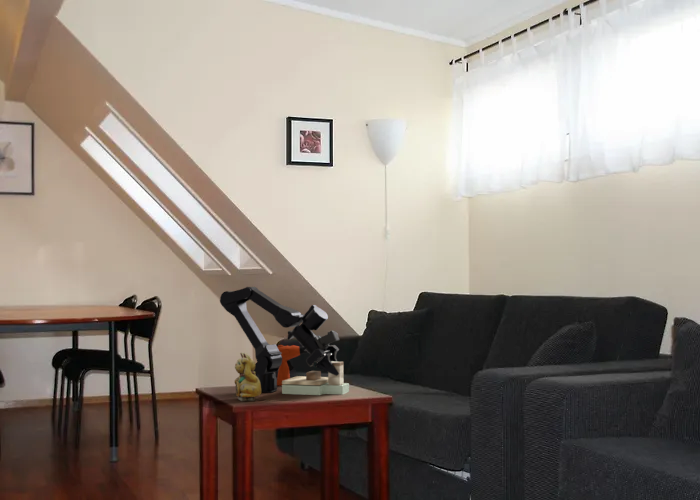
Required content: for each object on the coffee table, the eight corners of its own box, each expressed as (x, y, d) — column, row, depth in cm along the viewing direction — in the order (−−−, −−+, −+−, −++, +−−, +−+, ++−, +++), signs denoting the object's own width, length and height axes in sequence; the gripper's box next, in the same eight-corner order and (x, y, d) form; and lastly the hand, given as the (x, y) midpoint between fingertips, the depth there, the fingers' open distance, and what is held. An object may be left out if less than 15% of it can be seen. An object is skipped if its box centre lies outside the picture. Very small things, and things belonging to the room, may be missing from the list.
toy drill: (326, 381, 308) (320, 340, 308) (274, 388, 307) (268, 347, 307) (325, 379, 312) (320, 339, 313) (274, 386, 312) (269, 345, 312)
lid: (282, 384, 279) (282, 373, 279) (297, 379, 293) (297, 368, 293) (319, 385, 275) (319, 374, 276) (333, 380, 289) (333, 369, 289)
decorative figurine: (231, 398, 276) (231, 351, 276) (256, 396, 279) (256, 350, 280) (240, 402, 267) (240, 354, 268) (265, 400, 271) (265, 353, 271)
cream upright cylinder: (328, 393, 280) (328, 362, 280) (331, 391, 284) (331, 361, 284) (340, 393, 279) (339, 362, 279) (343, 391, 282) (343, 361, 283)
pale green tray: (282, 396, 279) (282, 384, 279) (297, 391, 293) (297, 379, 293) (339, 398, 273) (339, 387, 274) (352, 393, 287) (351, 381, 287)
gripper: (315, 324, 274) (348, 359, 270) (333, 321, 292) (364, 354, 288) (292, 348, 276) (324, 383, 273) (311, 344, 294) (342, 377, 290)
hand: (339, 374), depth 281 cm, fingers closed on cream upright cylinder, 4 cm apart
